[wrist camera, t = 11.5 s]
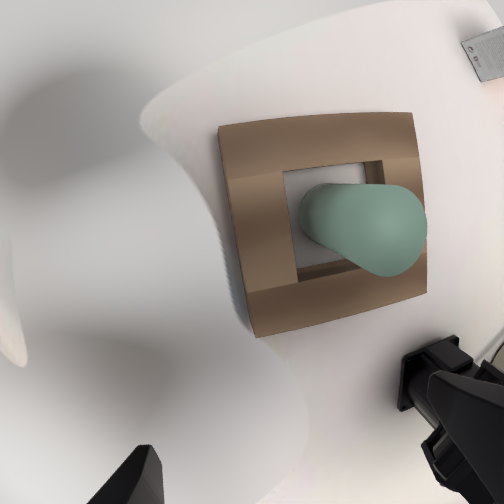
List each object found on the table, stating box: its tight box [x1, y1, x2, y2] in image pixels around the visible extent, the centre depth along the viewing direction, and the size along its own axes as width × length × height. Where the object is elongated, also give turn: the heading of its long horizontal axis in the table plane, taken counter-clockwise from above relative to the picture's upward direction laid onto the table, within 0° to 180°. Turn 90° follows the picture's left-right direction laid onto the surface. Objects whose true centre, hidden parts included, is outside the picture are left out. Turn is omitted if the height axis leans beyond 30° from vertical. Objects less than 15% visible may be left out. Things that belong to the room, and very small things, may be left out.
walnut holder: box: [217, 112, 427, 338], centre depth 19 cm, size 12×12×2 cm
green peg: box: [299, 184, 427, 277], centre depth 17 cm, size 4×4×8 cm
